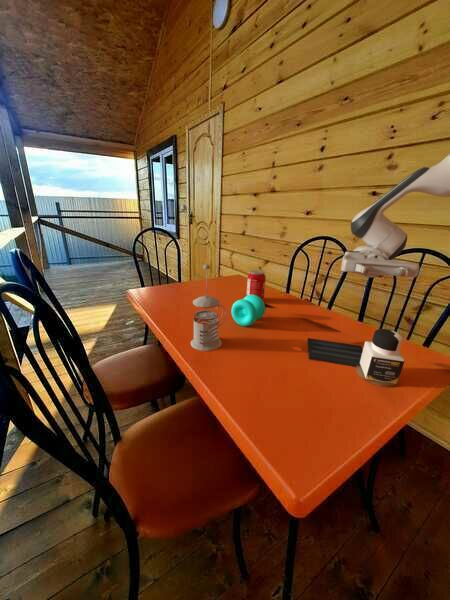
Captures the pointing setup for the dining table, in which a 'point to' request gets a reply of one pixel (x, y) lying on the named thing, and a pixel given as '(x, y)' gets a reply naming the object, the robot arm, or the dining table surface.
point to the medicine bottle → (383, 357)
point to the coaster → (379, 383)
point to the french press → (206, 338)
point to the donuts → (248, 310)
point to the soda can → (256, 283)
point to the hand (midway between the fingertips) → (384, 272)
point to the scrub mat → (334, 352)
